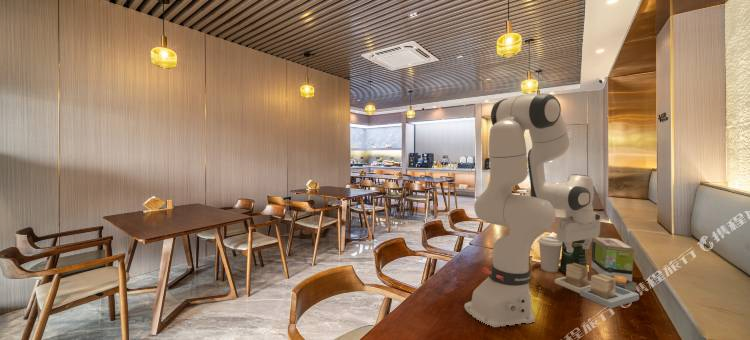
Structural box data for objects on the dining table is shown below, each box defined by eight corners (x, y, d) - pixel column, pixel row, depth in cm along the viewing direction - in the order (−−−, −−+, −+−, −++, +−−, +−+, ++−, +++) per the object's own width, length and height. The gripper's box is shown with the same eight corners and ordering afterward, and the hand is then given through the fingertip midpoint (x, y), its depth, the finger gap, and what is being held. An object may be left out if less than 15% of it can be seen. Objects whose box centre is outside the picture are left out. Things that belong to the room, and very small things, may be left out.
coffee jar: (590, 277, 126) (592, 234, 125) (576, 279, 124) (578, 235, 123) (569, 268, 135) (571, 229, 134) (556, 270, 133) (557, 230, 132)
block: (578, 289, 112) (579, 269, 112) (565, 284, 117) (566, 264, 116) (587, 287, 114) (587, 267, 114) (574, 282, 119) (574, 263, 118)
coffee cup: (566, 275, 127) (567, 241, 127) (544, 275, 128) (545, 241, 127) (553, 267, 137) (554, 235, 136) (533, 267, 137) (534, 235, 137)
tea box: (633, 283, 120) (634, 247, 119) (603, 279, 123) (605, 245, 122) (616, 269, 134) (617, 238, 133) (590, 267, 137) (591, 236, 137)
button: (622, 289, 110) (622, 279, 110) (611, 286, 114) (612, 275, 113) (628, 288, 112) (628, 278, 111) (617, 284, 115) (617, 274, 115)
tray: (579, 296, 109) (580, 289, 108) (554, 285, 118) (554, 278, 118) (598, 291, 113) (599, 284, 113) (572, 280, 122) (573, 274, 122)
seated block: (605, 303, 101) (606, 281, 100) (590, 297, 105) (591, 275, 105) (614, 301, 103) (615, 278, 102) (599, 295, 107) (600, 273, 107)
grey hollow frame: (610, 311, 98) (610, 302, 98) (580, 297, 107) (580, 289, 107) (638, 302, 104) (639, 294, 104) (607, 290, 113) (607, 282, 113)
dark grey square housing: (624, 296, 108) (625, 286, 108) (604, 288, 115) (604, 278, 114) (636, 293, 111) (636, 283, 111) (615, 285, 117) (615, 276, 117)
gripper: (568, 220, 107) (567, 257, 108) (604, 215, 115) (603, 249, 116) (552, 216, 113) (551, 251, 114) (587, 212, 121) (586, 245, 121)
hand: (578, 250), depth 115 cm, fingers open, 8 cm apart
